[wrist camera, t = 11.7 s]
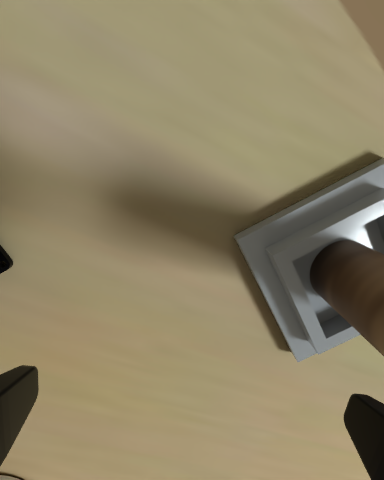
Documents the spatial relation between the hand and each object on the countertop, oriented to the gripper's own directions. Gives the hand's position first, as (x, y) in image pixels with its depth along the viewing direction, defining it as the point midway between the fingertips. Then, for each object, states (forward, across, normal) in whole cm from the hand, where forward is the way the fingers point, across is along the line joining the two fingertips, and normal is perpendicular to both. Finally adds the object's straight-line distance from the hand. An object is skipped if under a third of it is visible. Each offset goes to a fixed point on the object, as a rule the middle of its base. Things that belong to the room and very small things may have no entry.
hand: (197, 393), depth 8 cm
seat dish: (+14, +12, 0) cm, 18 cm away
